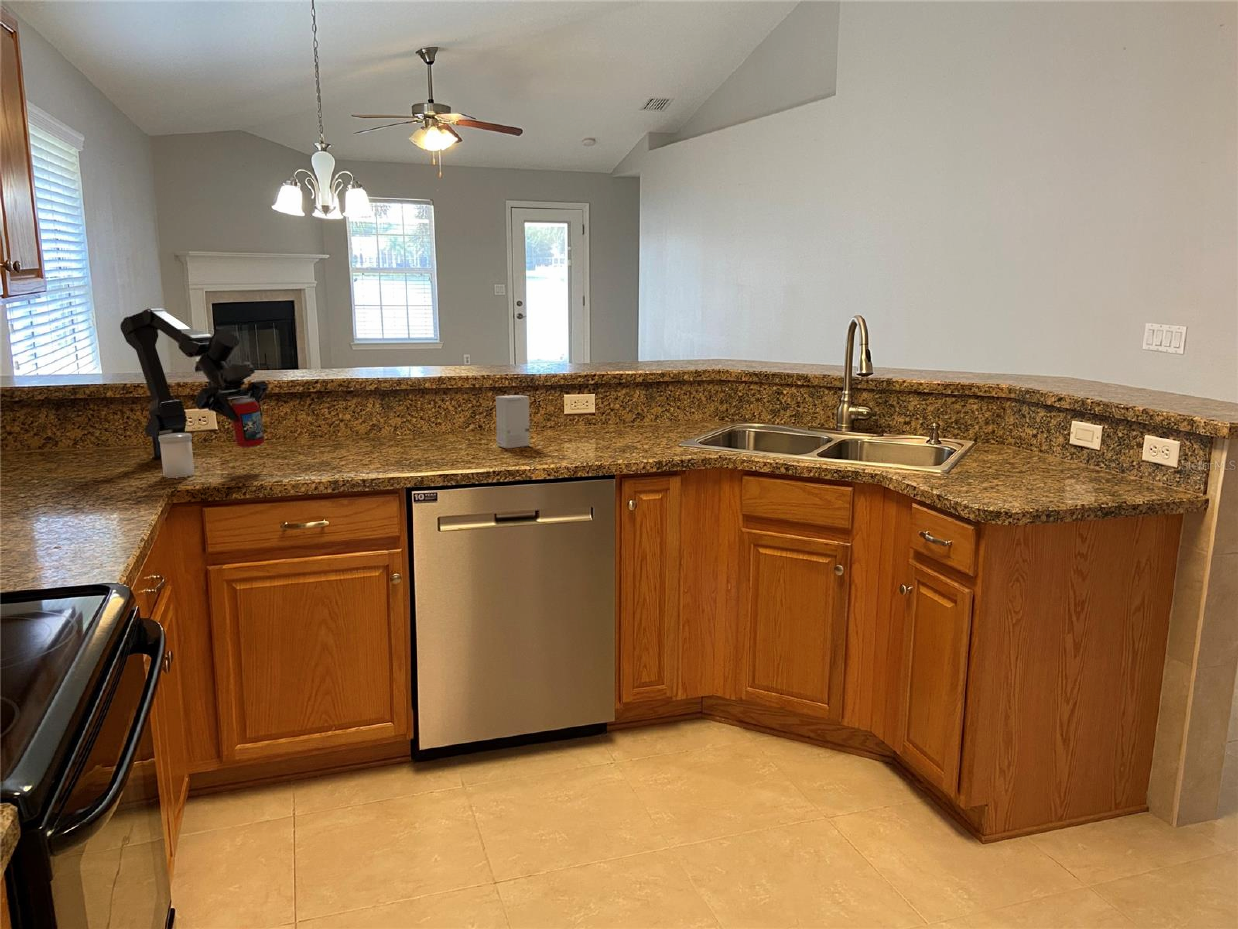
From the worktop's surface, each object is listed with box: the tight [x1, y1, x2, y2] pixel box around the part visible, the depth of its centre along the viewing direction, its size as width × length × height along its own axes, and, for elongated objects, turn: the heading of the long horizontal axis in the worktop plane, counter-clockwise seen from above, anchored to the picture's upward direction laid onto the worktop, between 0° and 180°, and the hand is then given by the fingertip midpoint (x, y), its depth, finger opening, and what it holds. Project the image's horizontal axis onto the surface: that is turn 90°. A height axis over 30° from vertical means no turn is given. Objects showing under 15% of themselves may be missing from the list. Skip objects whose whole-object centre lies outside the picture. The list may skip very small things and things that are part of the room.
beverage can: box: [230, 397, 266, 449], centre depth 229 cm, size 7×7×12 cm
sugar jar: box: [158, 432, 195, 479], centre depth 224 cm, size 7×7×10 cm
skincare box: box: [495, 394, 531, 450], centre depth 262 cm, size 8×6×15 cm
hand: (249, 419), depth 228 cm, fingers closed on beverage can, 6 cm apart
